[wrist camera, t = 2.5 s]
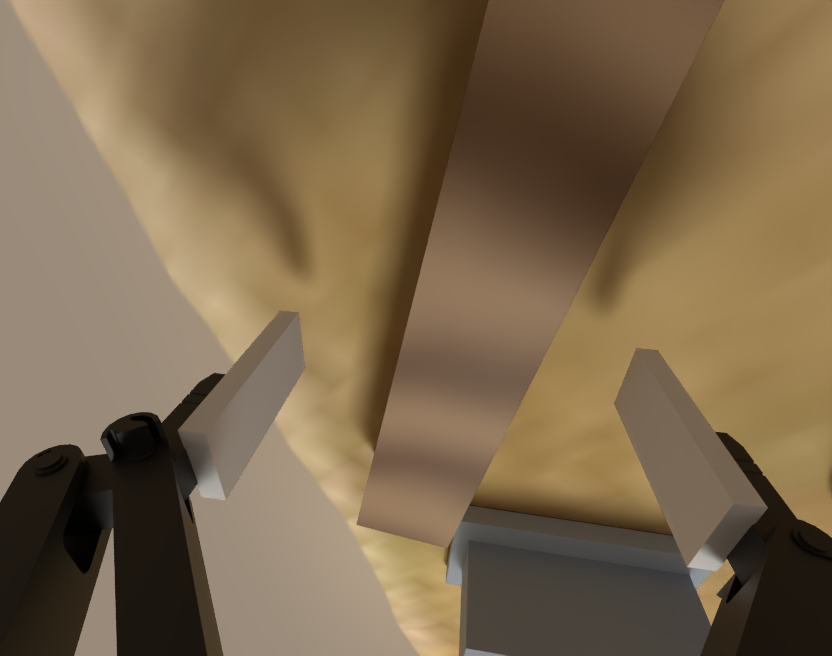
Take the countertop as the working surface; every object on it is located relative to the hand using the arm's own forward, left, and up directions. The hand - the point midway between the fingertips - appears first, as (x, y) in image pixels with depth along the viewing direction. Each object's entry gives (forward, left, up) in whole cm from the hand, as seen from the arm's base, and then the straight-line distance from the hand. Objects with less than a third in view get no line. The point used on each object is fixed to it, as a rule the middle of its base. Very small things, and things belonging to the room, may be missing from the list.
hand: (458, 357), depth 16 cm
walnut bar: (0, 0, -4) cm, 4 cm away
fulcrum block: (+19, +9, -4) cm, 21 cm away
